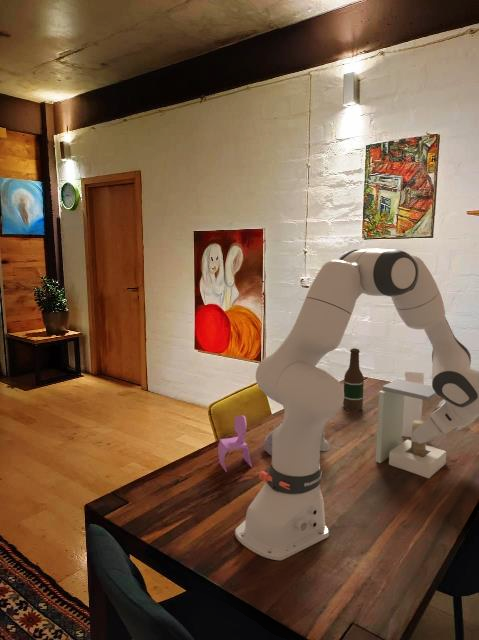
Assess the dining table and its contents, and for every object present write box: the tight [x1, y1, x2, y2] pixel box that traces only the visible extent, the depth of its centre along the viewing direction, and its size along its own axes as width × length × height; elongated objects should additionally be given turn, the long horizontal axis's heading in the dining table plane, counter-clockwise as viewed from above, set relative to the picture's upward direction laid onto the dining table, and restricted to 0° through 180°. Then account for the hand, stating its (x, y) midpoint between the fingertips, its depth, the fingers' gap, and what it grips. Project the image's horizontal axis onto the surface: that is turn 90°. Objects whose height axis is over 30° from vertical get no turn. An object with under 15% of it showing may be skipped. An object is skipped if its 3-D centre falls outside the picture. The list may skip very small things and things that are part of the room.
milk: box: [402, 371, 425, 438], centre depth 159 cm, size 6×6×22 cm
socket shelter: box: [375, 378, 447, 479], centre depth 139 cm, size 14×16×23 cm
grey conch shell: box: [263, 422, 282, 456], centre depth 147 cm, size 12×12×11 cm
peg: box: [411, 419, 427, 457], centre depth 138 cm, size 4×4×10 cm
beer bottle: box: [342, 348, 365, 412], centre depth 184 cm, size 8×8×24 cm
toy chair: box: [217, 414, 253, 473], centre depth 138 cm, size 8×9×15 cm
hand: (416, 436), depth 138 cm, fingers closed on peg, 4 cm apart
